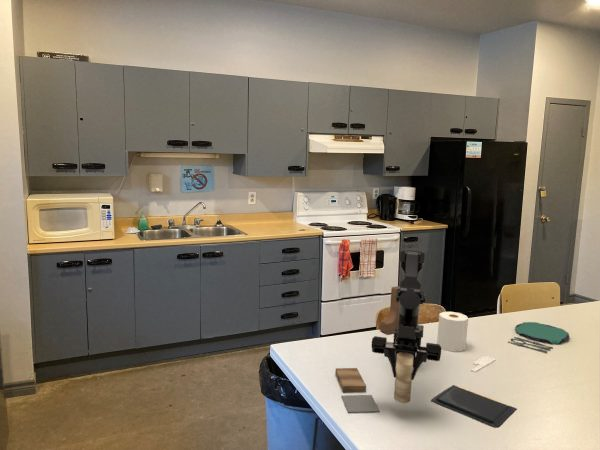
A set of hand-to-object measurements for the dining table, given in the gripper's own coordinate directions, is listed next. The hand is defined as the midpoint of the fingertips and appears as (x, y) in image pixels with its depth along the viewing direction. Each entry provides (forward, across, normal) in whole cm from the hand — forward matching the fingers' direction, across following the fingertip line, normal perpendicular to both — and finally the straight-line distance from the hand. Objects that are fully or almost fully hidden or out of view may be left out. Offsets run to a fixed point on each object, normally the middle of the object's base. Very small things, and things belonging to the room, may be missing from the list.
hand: (403, 378), depth 130 cm
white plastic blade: (-22, +25, +40) cm, 52 cm away
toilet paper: (-32, +16, +48) cm, 60 cm away
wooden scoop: (-38, -6, +54) cm, 67 cm away
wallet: (-1, +20, +18) cm, 27 cm away
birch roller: (+4, 0, +6) cm, 7 cm away
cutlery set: (-46, +50, +64) cm, 94 cm away
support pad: (+6, -12, +10) cm, 16 cm away
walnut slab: (-3, -16, +19) cm, 25 cm away
